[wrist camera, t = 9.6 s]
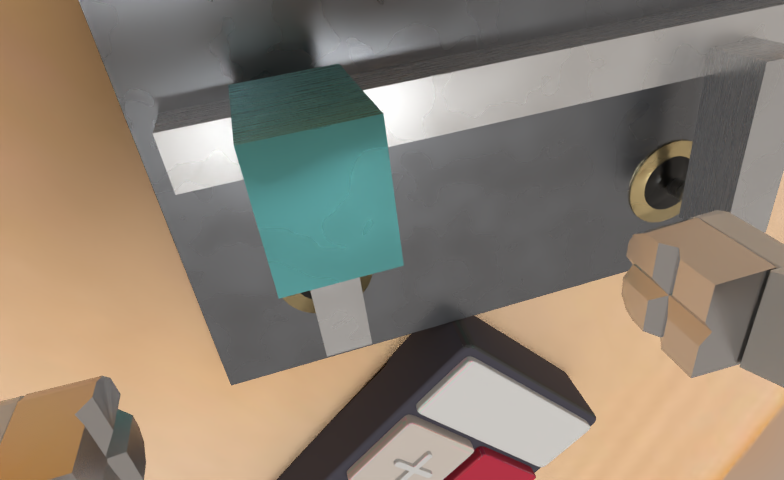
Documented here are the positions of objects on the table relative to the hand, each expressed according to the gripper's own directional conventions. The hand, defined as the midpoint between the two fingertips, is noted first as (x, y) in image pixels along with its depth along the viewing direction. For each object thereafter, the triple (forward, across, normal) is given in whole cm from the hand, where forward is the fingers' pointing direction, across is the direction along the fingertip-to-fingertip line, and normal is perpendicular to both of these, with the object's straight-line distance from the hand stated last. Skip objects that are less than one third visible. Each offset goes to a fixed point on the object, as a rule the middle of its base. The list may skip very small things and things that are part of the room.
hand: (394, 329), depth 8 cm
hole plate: (+14, -8, +3) cm, 16 cm away
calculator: (+14, -3, +20) cm, 25 cm away
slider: (+12, 0, +3) cm, 12 cm away
